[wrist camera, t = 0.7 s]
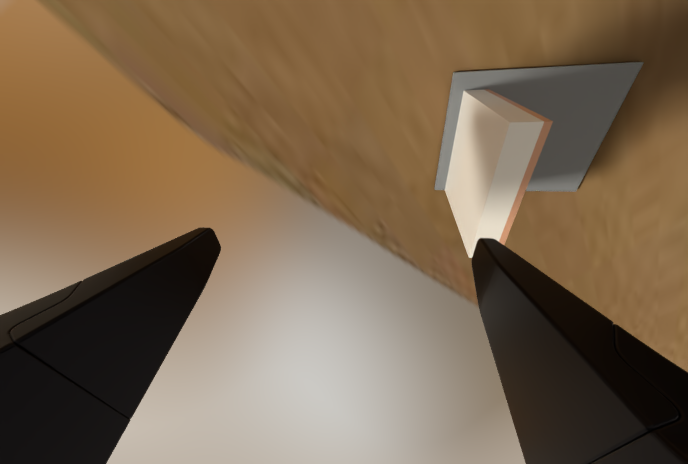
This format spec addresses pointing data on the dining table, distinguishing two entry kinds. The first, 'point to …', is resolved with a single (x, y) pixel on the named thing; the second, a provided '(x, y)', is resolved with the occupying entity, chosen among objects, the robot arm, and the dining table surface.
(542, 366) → the robot arm
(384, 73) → the dining table surface
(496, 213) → the tile
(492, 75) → the mat
